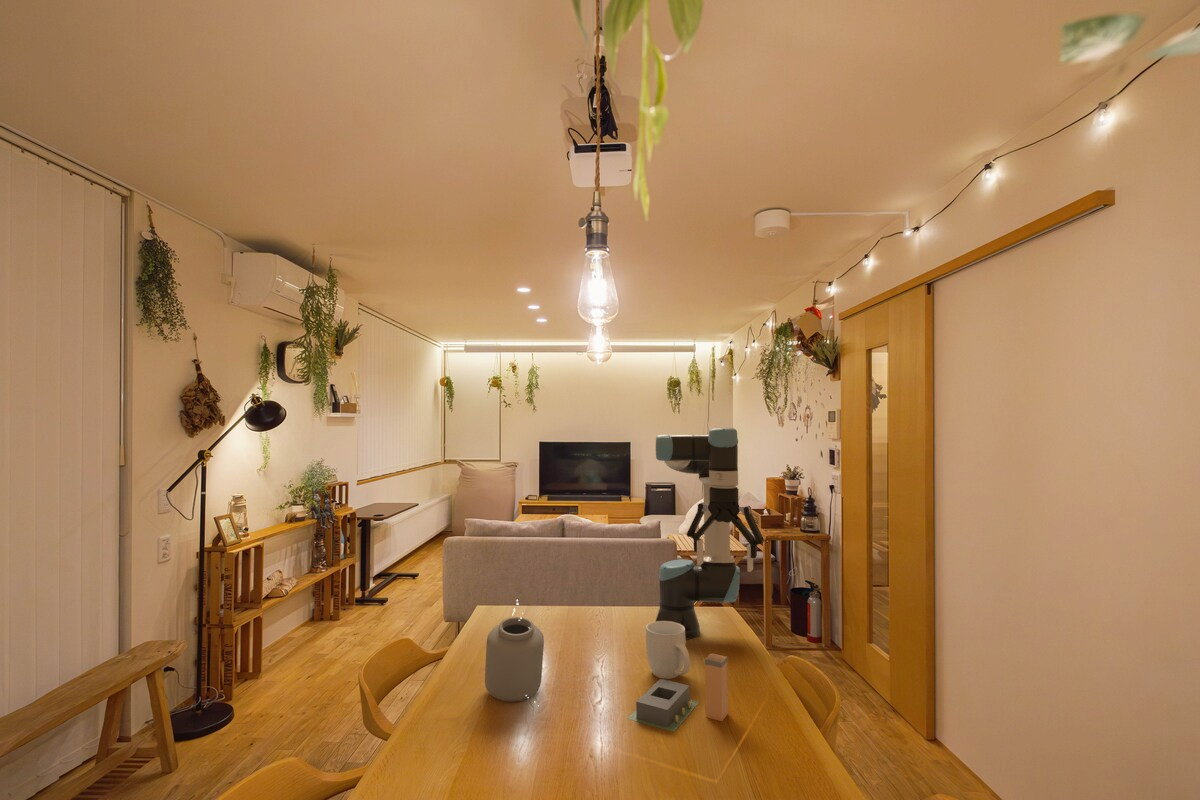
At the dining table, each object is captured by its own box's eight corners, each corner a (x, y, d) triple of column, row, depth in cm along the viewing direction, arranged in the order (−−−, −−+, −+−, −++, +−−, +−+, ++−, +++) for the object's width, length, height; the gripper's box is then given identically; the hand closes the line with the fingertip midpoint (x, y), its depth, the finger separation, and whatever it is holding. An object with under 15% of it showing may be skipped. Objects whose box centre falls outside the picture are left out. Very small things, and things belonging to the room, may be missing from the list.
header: (655, 693, 150) (654, 675, 150) (698, 704, 144) (698, 685, 144) (626, 720, 136) (626, 701, 136) (674, 734, 130) (673, 713, 130)
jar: (553, 706, 143) (553, 604, 144) (495, 718, 137) (495, 612, 138) (532, 675, 161) (532, 585, 162) (479, 685, 155) (480, 591, 156)
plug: (711, 711, 140) (710, 653, 141) (727, 715, 138) (727, 656, 139) (705, 719, 137) (705, 659, 137) (722, 723, 135) (721, 662, 135)
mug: (703, 682, 156) (703, 633, 157) (672, 693, 150) (672, 642, 151) (668, 663, 168) (667, 618, 169) (638, 672, 162) (637, 625, 163)
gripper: (674, 485, 155) (675, 564, 155) (767, 490, 143) (769, 576, 142) (684, 482, 162) (685, 558, 161) (774, 487, 149) (776, 569, 149)
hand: (724, 567), depth 152 cm, fingers open, 13 cm apart
